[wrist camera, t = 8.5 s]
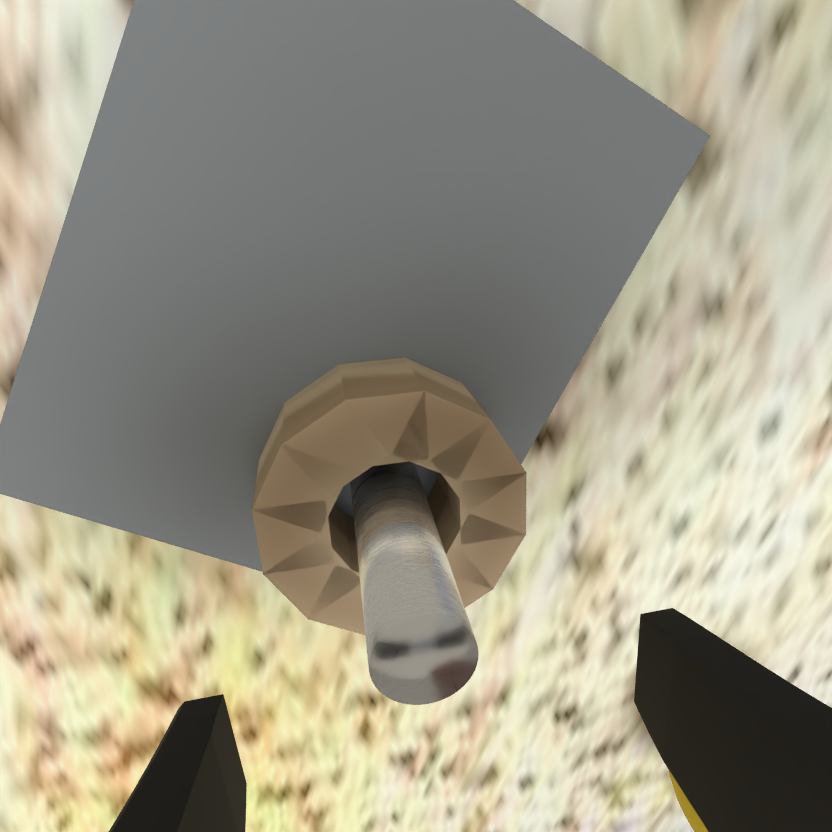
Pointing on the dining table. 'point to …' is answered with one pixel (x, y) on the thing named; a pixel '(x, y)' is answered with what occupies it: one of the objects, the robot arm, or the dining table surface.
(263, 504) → the maple bead
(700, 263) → the dining table surface
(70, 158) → the dining table surface
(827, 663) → the dining table surface
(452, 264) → the mat
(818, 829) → the robot arm
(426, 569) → the steel peg
